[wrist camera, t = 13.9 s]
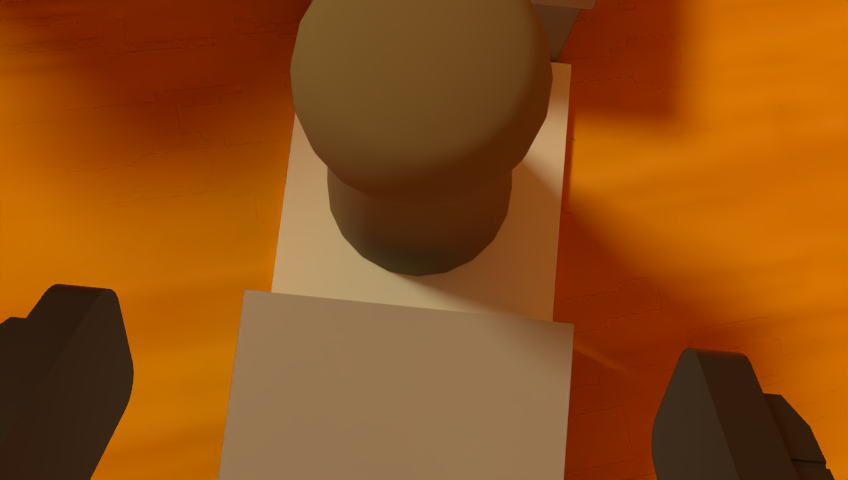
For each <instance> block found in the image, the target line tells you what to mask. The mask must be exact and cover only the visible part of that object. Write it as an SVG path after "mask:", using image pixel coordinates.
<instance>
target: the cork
mask: <svg viewBox="0 0 848 480" xmlns="http://www.w3.org/2000/svg"><path fill="white" fill-rule="evenodd" d="M290 78H291V88H292V97H293V106H294V111H295V113H296V115H297V117H298V120H299V122H300V124H301V126H302V128H303V130H304V132H305V135H306V137H307V139H308V141H309V143H310V145H311V147H312V149H313V151H314V152H315V154H316V155H317V156H318V157H319V158H320V159H321V160H322V161H323V162H324V163H325V165H326V166H327V186H328V195H329V203H330V210H331V213H332V215H333V217H334V219H335V221H336V223H337V226H338V228H339V230H340V232H341V234H342V236H343V237H344V238H345V239H346V240H347V241H348V242H349V243H350V245H351V246H352V247H353V248H354V249H355V250H356V251H357V252H358V253H359V254H360V255H361V256H362V257H363V258H365V259H367V260H369V261H371V262H372V263H374V264H376V265H378V266H380V267H382V268H383V269H385V270H387V271H391V272H396V273H401V274H407V275H412V276H424V275H432V274H440V273H446V272H449V271H451V270H453V269H455V268H457V267H459V266H461V265H463V264H466V263H468V262H470V261H472V260H473V259H474V258H475V257H476V256H478V255H479V254H480V253H481V252H482V251H483V250H484V249H485V248H486V247H487V246H488V245H489V244H490V243H491V242H492V241H493V240H494V239H495V237H496V235H497V233H498V231H499V229H500V227H501V226H502V224H503V222H504V220H505V218H506V216H507V213H508V208H509V202H510V196H511V190H512V170H513V169H514V168H515V167H516V166H517V165H518V164H519V163H520V162H521V161H522V160H523V159H524V157H525V156H526V154H527V152H528V151H529V149H530V147H531V145H532V143H533V141H534V140H535V138H536V136H537V134H538V132H539V130H540V128H541V127H542V125H543V123H544V121H545V119H546V117H547V112H548V106H549V100H550V94H551V88H552V82H553V74H552V67H551V61H550V55H549V49H548V43H547V37H546V31H545V28H544V26H543V24H542V22H541V20H540V18H539V16H538V14H537V13H536V11H535V9H534V7H533V5H532V3H531V1H530V0H313V1H312V3H311V5H310V6H309V8H308V10H307V11H306V13H305V15H304V16H303V18H302V19H301V21H300V25H299V29H298V33H297V38H296V42H295V47H294V51H293V55H292V60H291V65H290Z"/></svg>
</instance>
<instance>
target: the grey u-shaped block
mask: <svg viewBox="0 0 848 480" xmlns="http://www.w3.org/2000/svg"><path fill="white" fill-rule="evenodd" d="M312 1H313V0H310V3H312ZM530 1H531V3H532V5H533V7H534V9H535V11H536V13H537V14H538V16H539V18H540V20H541V22H542V24H543V26H544V28H545V31H546V37H547V43H548V49H549V55H550V61H551V67H552V74H553V82H552V88H551V94H550V100H549V106H548V112H547V117H546V119H545V121H544V123H543V125H542V127H541V128H540V130H539V132H538V134H537V136H536V138H535V140H534V141H533V143H532V145H531V147H530V149H529V151H528V152H527V154H526V156H525V157H524V159H523V160H522V161H521V162H520V163H519V164H518V165H517V166H516V167H515V168H514V169H513V170H512V190H511V196H510V202H509V208H508V213H507V216H506V218H505V220H504V222H503V224H502V226H501V227H500V229H499V231H498V233H497V235H496V237H495V239H494V240H493V241H492V242H491V243H490V244H489V245H488V246H487V247H486V248H485V249H484V250H483V251H482V252H481V253H480V254H479V255H478V256H476V257H475V258H474V259H473V260H472V261H470V262H468V263H466V264H463V265H461V266H459V267H457V268H455V269H453V270H451V271H449V272H446V273H440V274H432V275H424V276H412V275H407V274H401V273H396V272H391V271H387V270H385V269H383V268H382V267H380V266H378V265H376V264H374V263H372V262H371V261H369V260H367V259H365V258H363V257H362V256H361V255H360V254H359V253H358V252H357V251H356V250H355V249H354V248H353V247H352V246H351V245H350V243H349V242H348V241H347V240H346V239H345V238H344V237H343V236H342V234H341V232H340V230H339V228H338V226H337V223H336V221H335V219H334V217H333V215H332V213H331V210H330V203H329V195H328V186H327V166H326V165H325V163H324V162H323V161H322V160H321V159H320V158H319V157H318V156H317V155H316V154H315V152H314V151H313V149H312V147H311V145H310V143H309V141H308V139H307V137H306V135H305V132H304V130H303V128H302V126H301V124H300V122H299V120H298V117H297V115H296V113H295V119H294V126H293V134H292V141H291V149H290V156H289V163H288V171H287V178H286V186H285V193H284V201H283V208H282V215H281V223H280V230H279V238H278V245H277V253H276V260H275V267H274V275H273V282H272V290H271V292H264V291H254V290H245V291H244V298H243V305H242V312H241V320H240V327H239V334H238V341H237V348H236V355H235V362H234V369H233V377H232V384H231V391H230V398H229V405H228V412H227V419H226V426H225V434H224V441H223V448H222V455H221V462H220V469H219V476H218V480H564V468H565V454H566V439H567V425H568V411H569V397H570V382H571V368H572V354H573V339H574V325H575V324H574V323H564V322H554V321H553V307H554V294H555V280H556V267H557V254H558V240H559V227H560V214H561V200H562V187H563V173H564V160H565V147H566V133H567V120H568V106H569V93H570V80H571V66H572V64H564V63H556V61H557V59H558V57H559V55H560V53H561V51H562V49H563V46H564V44H565V42H566V40H567V38H568V36H569V34H570V32H571V30H572V28H573V26H574V24H575V21H576V19H577V17H578V15H579V13H580V11H581V9H591V10H592V9H593V7H594V5H595V3H596V1H597V0H530Z"/></svg>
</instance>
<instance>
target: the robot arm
mask: <svg viewBox="0 0 848 480" xmlns="http://www.w3.org/2000/svg"><path fill="white" fill-rule="evenodd" d="M133 374H134V371H133V362H132V358H131V353H130V349H129V344H128V340H127V336H126V331H125V327H124V322H123V318H122V314H121V309H120V305H119V301H118V297H117V295H116V293H115V292H114V291H113V290H111V289H105V288H95V287H84V286H74V285H64V284H55V285H53V286H51V287H50V288H49V289H48V290H47V291H46V292H45V293H44V295H43V296H42V297H41V299H40V300H39V301H38V303H37V304H36V305H35V307H34V308H33V310H32V311H31V312H30V314H29V315H28V316H27V318H17V317H10V318H8V319H7V320H6V321H4V322H3V323H1V324H0V480H90V479H91V477H92V475H93V473H94V471H95V469H96V467H97V465H98V463H99V461H100V459H101V457H102V455H103V453H104V451H105V449H106V447H107V445H108V443H109V441H110V439H111V437H112V435H113V433H114V431H115V429H116V427H117V425H118V423H119V421H120V419H121V417H122V415H123V413H124V411H125V409H126V407H127V404H128V402H129V399H130V395H131V391H132V385H133ZM652 457H653V463H654V468H655V472H656V476H657V480H834V478H833V475H832V473H831V471H830V469H826V460H825V458H824V456H823V454H822V452H821V450H820V447H819V445H818V443H817V441H816V439H815V437H814V434H813V432H812V430H811V428H810V426H809V425H808V424H807V423H806V422H805V421H804V420H803V419H802V418H801V416H800V415H799V414H798V413H797V412H796V411H795V410H794V409H793V408H792V407H791V406H790V404H789V403H788V402H787V401H786V400H785V399H784V398H783V397H782V396H781V395H775V394H765V393H763V392H762V389H761V387H760V385H759V382H758V380H757V377H756V375H755V373H754V370H753V368H752V365H751V363H750V361H749V360H748V358H747V357H746V356H745V355H744V354H742V353H734V352H724V351H714V350H704V349H694V348H687V349H685V350H684V351H683V353H682V354H681V356H680V358H679V360H678V363H677V365H676V368H675V370H674V373H673V375H672V378H671V380H670V383H669V385H668V388H667V390H666V393H665V395H664V398H663V400H662V403H661V405H660V407H659V410H658V412H657V415H656V418H655V421H654V425H653V431H652Z"/></svg>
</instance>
